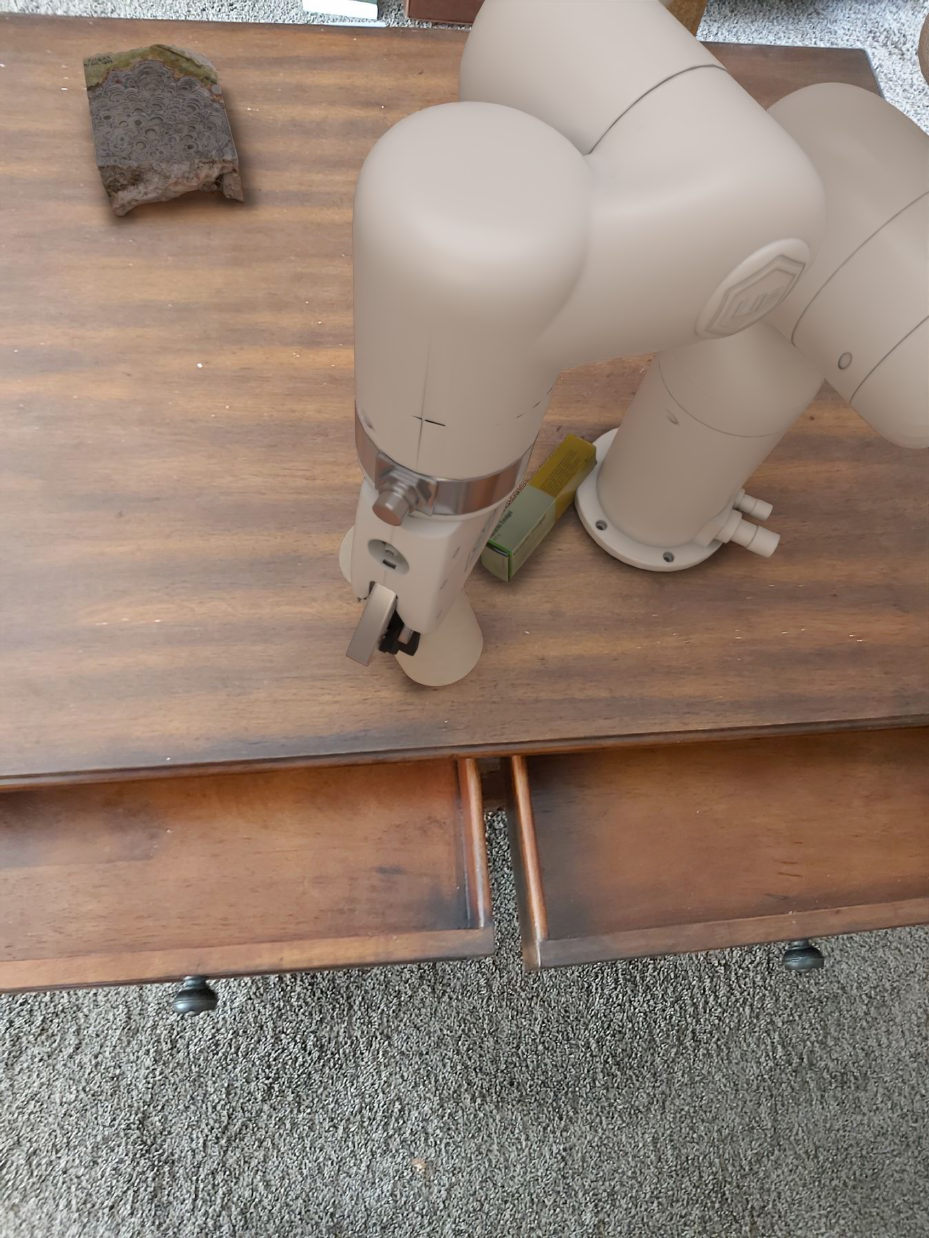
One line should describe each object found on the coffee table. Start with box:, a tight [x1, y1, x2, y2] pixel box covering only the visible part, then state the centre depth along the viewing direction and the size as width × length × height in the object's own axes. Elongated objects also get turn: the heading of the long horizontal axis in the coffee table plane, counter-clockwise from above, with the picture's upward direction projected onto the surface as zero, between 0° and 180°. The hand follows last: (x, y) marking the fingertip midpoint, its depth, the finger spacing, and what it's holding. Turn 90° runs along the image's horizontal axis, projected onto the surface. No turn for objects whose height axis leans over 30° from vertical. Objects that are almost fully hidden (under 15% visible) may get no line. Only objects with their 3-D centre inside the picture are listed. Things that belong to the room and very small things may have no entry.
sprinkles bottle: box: [666, 0, 709, 38], centre depth 75 cm, size 5×5×14 cm
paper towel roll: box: [338, 524, 484, 687], centre depth 52 cm, size 6×6×12 cm
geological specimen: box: [82, 43, 245, 217], centre depth 70 cm, size 11×6×15 cm
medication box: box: [479, 433, 597, 583], centre depth 62 cm, size 12×3×4 cm, turn 144°
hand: (418, 594), depth 51 cm, fingers closed on paper towel roll, 6 cm apart
